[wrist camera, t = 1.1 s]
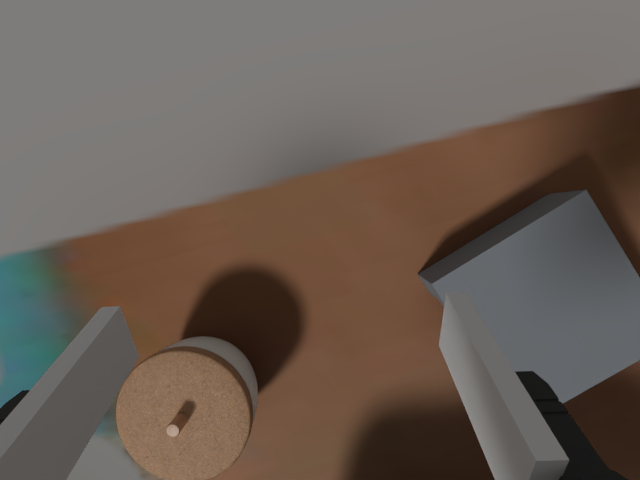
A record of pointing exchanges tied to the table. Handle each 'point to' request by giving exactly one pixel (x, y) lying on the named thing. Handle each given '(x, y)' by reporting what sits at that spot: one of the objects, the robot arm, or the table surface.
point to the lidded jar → (188, 409)
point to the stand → (551, 292)
